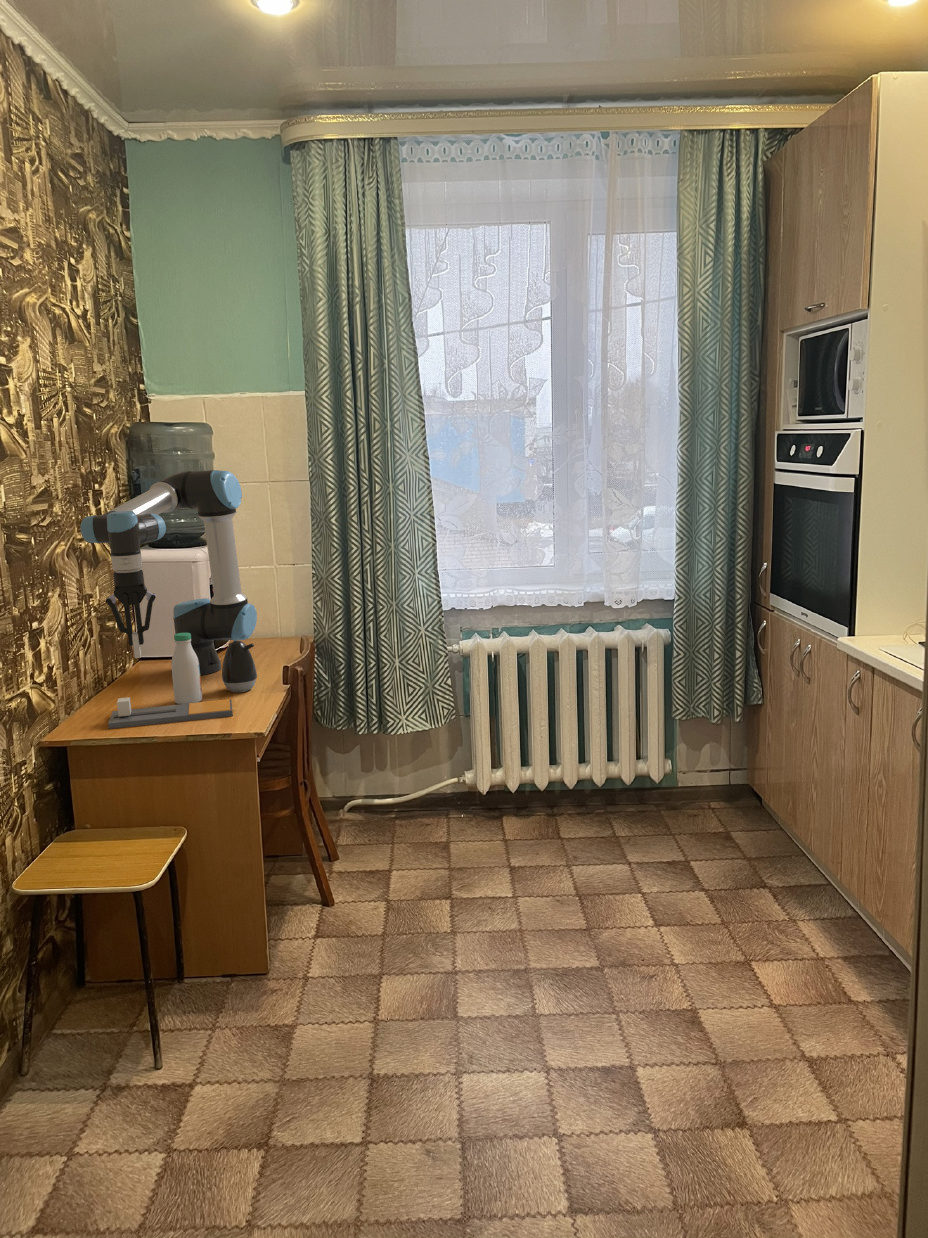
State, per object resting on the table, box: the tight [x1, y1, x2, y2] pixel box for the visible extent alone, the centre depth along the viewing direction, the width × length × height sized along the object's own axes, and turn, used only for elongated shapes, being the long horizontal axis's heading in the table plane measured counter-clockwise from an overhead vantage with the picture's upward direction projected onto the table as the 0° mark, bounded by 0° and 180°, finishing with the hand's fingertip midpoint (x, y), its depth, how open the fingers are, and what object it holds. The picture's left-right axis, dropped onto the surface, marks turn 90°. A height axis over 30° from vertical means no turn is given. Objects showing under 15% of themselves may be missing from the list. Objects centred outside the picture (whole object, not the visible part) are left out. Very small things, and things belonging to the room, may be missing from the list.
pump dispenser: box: [221, 640, 258, 693], centre depth 289 cm, size 10×10×15 cm
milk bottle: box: [171, 633, 203, 705], centre depth 278 cm, size 8×8×20 cm
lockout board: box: [107, 698, 234, 730], centre depth 266 cm, size 12×32×2 cm, turn 104°
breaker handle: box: [116, 696, 132, 716], centre depth 262 cm, size 4×3×4 cm
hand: (137, 656), depth 261 cm, fingers closed
